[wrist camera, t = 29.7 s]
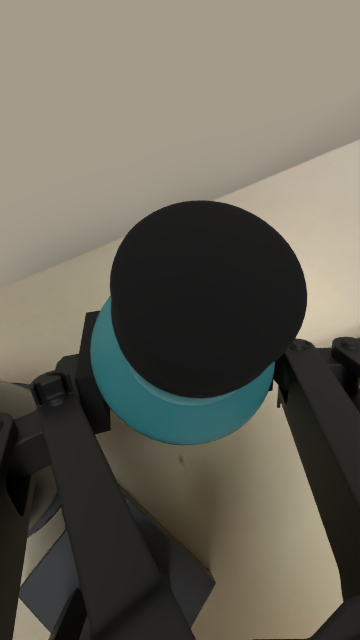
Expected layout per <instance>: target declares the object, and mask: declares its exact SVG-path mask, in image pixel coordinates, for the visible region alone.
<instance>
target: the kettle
mask: <svg viewBox="0 0 360 640" xmlns="http://www.w3.org/2000/svg"><path fill="white" fill-rule="evenodd" d="M36 409H37V406H36V403H35V401H34V398H33V396H32V393H31V391H30V385H27V384H22V383H8V382H5V381H2V380H0V413H8V414H10V415H11V416H12V417H13V419H14V420H15V419H17V418H20V417H22V416H24V415H27V414H29V413H31V412H33V411H34V410H36ZM36 473H37V474H36V481H35V488H34V495H33V501H32V508H31V515H30V522H29V529H28V536H27V538H28V537H29V536H31V535H32V534H33V533H34V532H35V531H36V530H38V529H39V528H40V527H41V526H42V525H43V524H44V523H45V522H46V521H47V520H48V519H49V518H50V517H51V516H52V515H53V514H54V513H55V512H56V510H57V509H58V508H59V506H60V505H61V504H60V500H59V496H58V492H57V488H56V483H55V479H54V475H53V471H52V467H51V465H49V466H47V467H45V468H43V469H41V470H40V471H38V472H36Z"/></svg>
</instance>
